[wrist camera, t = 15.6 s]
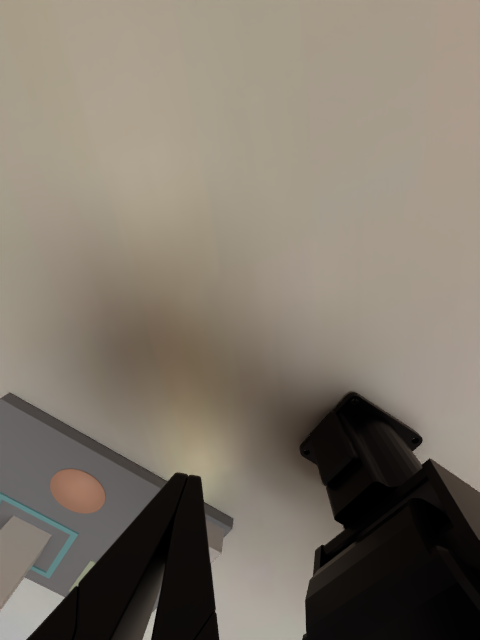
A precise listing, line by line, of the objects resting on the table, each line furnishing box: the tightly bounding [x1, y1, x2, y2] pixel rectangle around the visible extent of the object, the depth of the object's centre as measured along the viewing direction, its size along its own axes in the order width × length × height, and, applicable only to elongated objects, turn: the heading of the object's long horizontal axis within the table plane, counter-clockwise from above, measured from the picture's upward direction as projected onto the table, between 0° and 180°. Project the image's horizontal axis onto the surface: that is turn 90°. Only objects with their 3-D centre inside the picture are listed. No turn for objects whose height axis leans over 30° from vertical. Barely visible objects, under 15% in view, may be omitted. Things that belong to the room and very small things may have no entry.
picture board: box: [0, 393, 233, 612], centre depth 23 cm, size 22×20×3 cm
